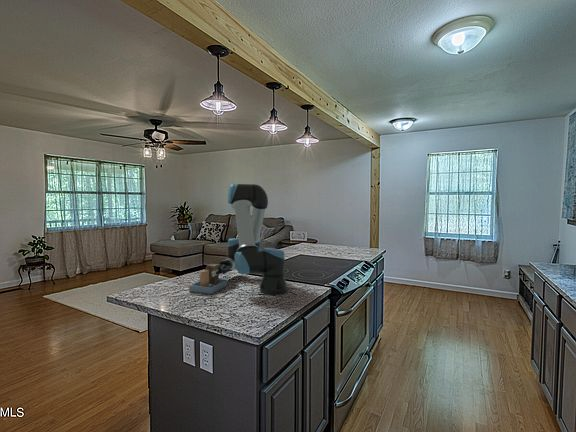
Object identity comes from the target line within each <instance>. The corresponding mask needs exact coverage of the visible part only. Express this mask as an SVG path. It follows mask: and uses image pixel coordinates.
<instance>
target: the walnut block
mask: <svg viewBox="0 0 576 432" xmlns="http://www.w3.org/2000/svg"><path fill="white" fill-rule="evenodd" d="M205 268H206V270H209V283H210V284H215V283H217V282H219V279H220V277H219V275H220V274H218V275H216V276H214V277H212V272H213V271H215V270H217V269H218V270H219V263H216V264H215V263H209V264H207V265H206V267H205Z"/></svg>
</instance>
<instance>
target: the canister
mask: <svg viewBox="0 0 576 432" xmlns="http://www.w3.org/2000/svg"><path fill="white" fill-rule="evenodd" d="M199 281H200V286H205V287H209V270H205V269H204V270H203V269H202V270H199Z"/></svg>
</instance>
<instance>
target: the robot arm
mask: <svg viewBox="0 0 576 432" xmlns="http://www.w3.org/2000/svg"><path fill="white" fill-rule="evenodd" d="M227 203H228V204H230V205H231V208H232V209H233V210H234V214H235V222H236V230H237V237H236V238H234V237H233V238H228V240H227V258H226V259H223V260H221V261H220V262H219V263H218V264H219V270H218V269H217V270H215V271H213V272H212V277H214V276H216V275H218V274H219V275H221V274H222V275H225V274H227V273H230V272H232V271H233V270H235V269H236V271H237V272H238V274H240V275H252V274H253V275H254V274H262V279H261V282H260V285H259V292H260V293H262V294H265V295H281V294H285V293H287V292H288V285H287V282H286V278H285V261H286V258H285V251H284V250H282V249H279V248H274V247H264V248H263V245H262V241H261V240H260V238H261V234H262V228H263V223H264V218H265V217H264V216H265V211H266V210H267V208H268V204H269V198H268V194H267V193H266V191H265V189H264V188H263V187H262V186H260V185H259V184H254V183H252V184H251V183H248V184H247V183H231V184H230V185H229V186H228V192H227ZM251 207H252V210H251ZM262 248H263V249H262ZM204 270H206V267H205V268H204Z"/></svg>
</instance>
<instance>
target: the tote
mask: <svg viewBox="0 0 576 432" xmlns="http://www.w3.org/2000/svg"><path fill="white" fill-rule="evenodd" d="M227 286H228V279H227V278H226V279H224V278H219V282H217V283H215V284H210V283H209V287H205V286H200V280H198V281H196V282H194V283H192V284H190V285H189V286H188V291H189V293H194V294H195V293H196V294H206V295H207V294H208V295H213V294H215V293H217V292H218V291H220V290H222V289H224V288H226V287H227Z"/></svg>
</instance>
